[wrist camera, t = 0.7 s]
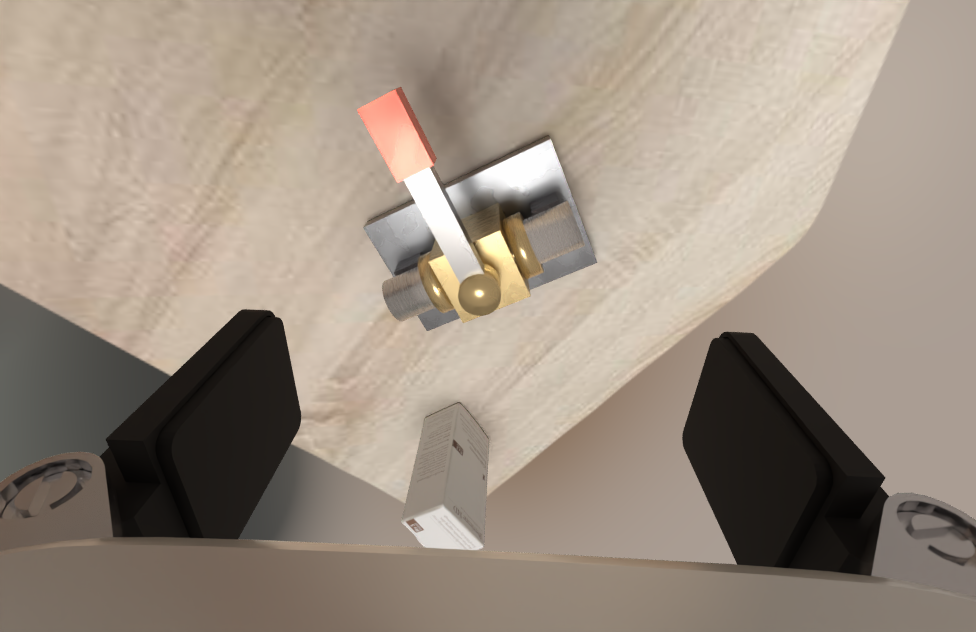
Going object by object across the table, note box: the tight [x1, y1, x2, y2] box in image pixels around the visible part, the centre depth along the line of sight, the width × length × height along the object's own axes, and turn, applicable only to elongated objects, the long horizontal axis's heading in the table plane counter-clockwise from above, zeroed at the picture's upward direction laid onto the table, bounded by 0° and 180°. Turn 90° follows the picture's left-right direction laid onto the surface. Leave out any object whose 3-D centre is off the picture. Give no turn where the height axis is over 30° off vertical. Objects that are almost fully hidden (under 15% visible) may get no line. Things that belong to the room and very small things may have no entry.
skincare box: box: [401, 403, 489, 550], centre depth 42 cm, size 6×4×12 cm
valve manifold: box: [363, 136, 597, 331], centre depth 34 cm, size 10×15×8 cm, turn 115°
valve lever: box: [357, 87, 501, 316], centre depth 27 cm, size 13×3×2 cm, turn 25°
